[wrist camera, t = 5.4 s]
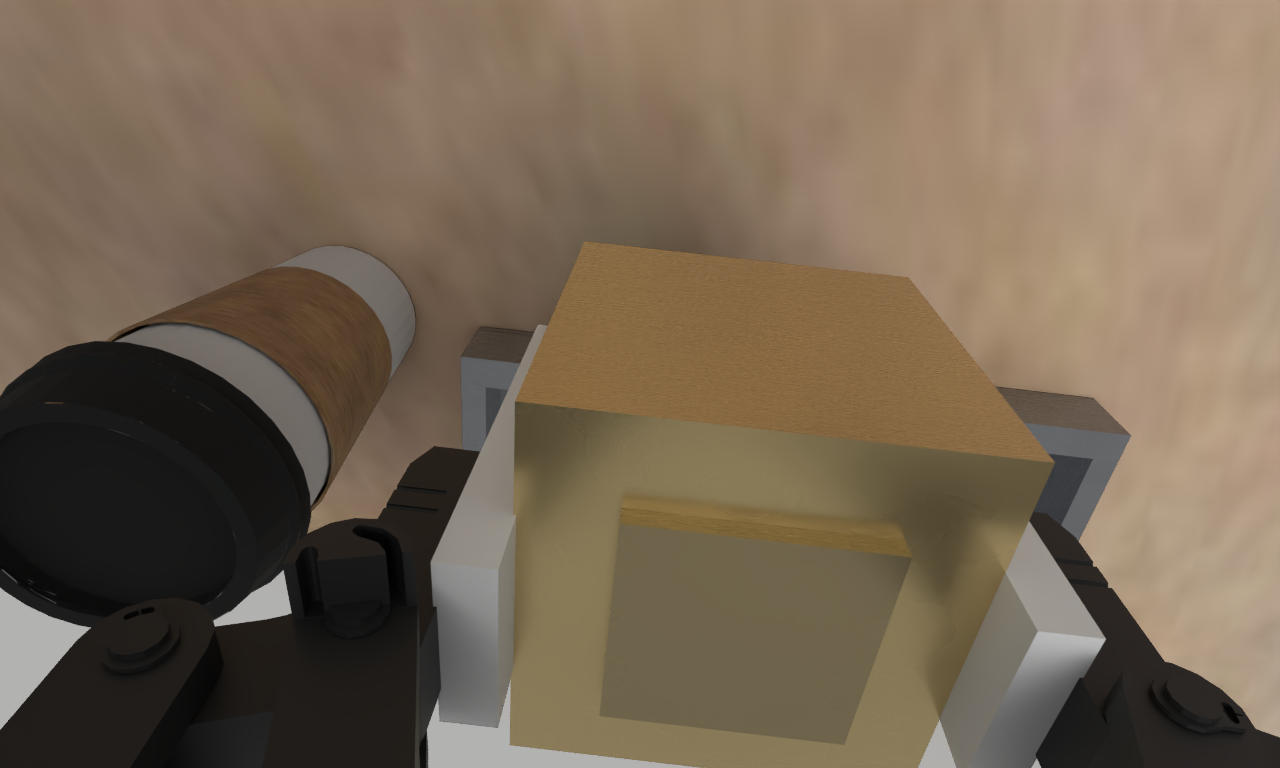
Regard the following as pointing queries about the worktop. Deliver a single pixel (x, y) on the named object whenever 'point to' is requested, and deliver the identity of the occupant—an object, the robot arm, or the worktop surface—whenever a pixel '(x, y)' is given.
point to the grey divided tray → (1058, 422)
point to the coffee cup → (194, 438)
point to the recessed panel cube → (754, 514)
